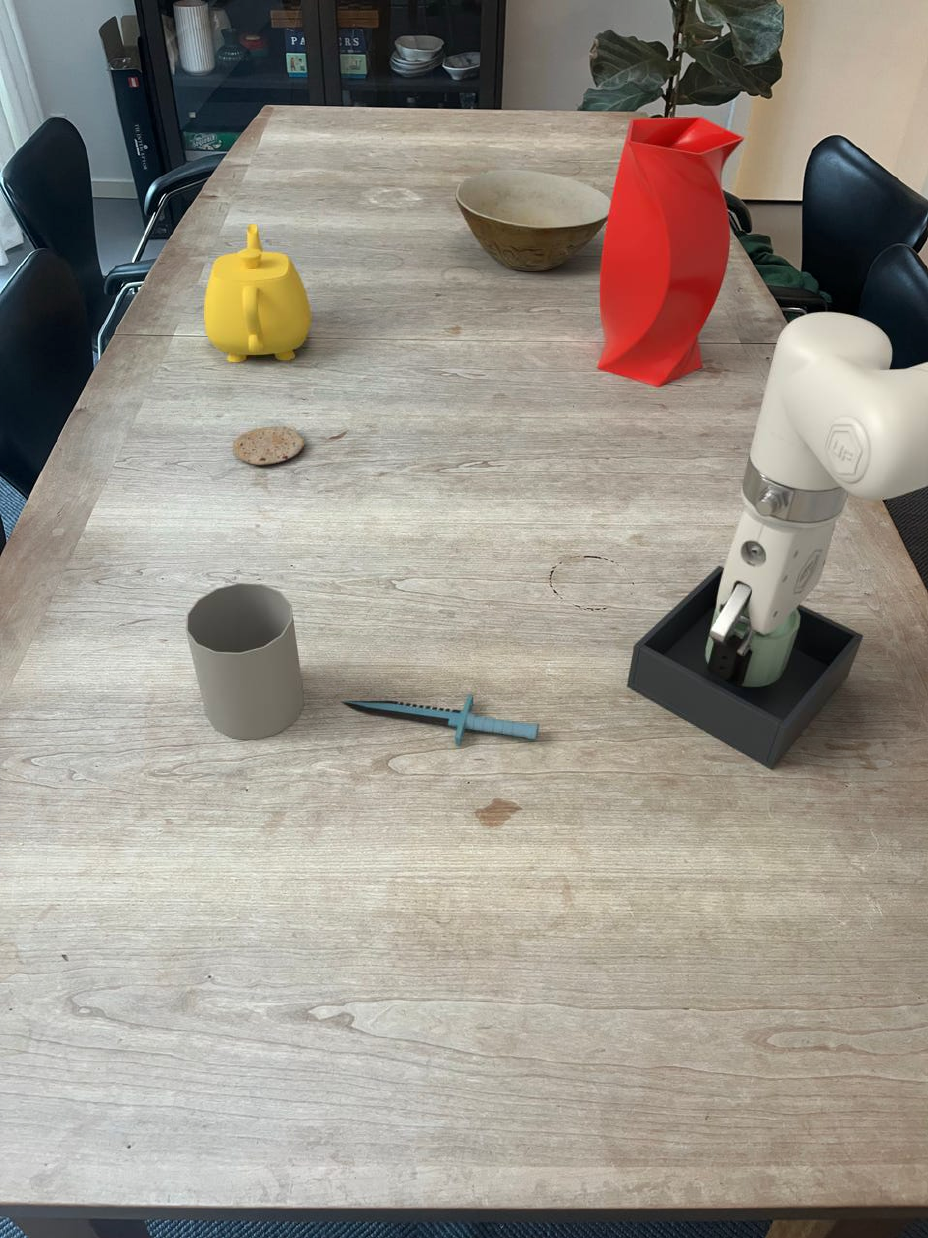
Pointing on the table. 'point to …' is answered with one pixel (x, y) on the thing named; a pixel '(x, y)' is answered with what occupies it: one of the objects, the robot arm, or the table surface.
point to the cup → (246, 660)
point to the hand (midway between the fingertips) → (747, 653)
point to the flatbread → (268, 445)
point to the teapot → (256, 303)
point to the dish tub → (741, 715)
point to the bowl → (531, 216)
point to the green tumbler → (765, 650)
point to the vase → (664, 247)
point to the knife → (447, 717)
